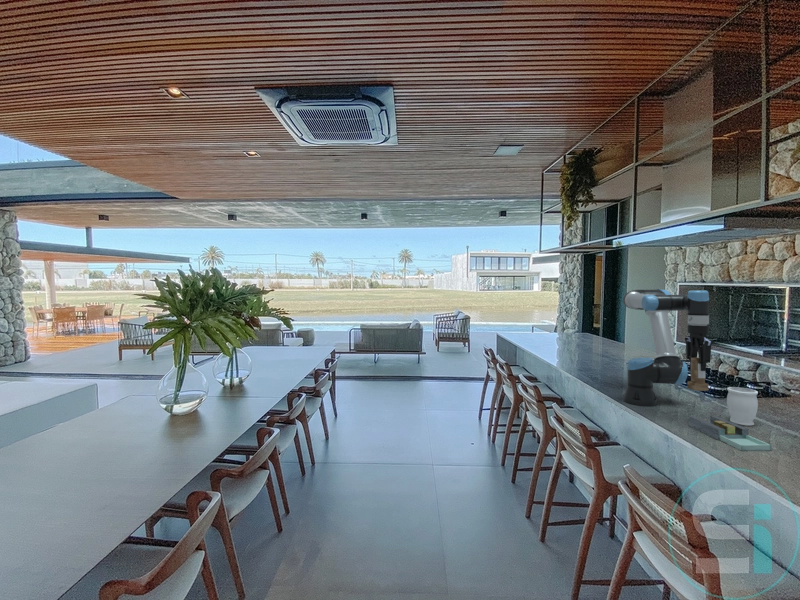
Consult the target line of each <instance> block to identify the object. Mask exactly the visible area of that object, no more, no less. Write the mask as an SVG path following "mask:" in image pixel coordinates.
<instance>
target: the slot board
mask: <svg viewBox="0 0 800 600" xmlns="http://www.w3.org/2000/svg"><path fill="white" fill-rule="evenodd" d="M714 421H723V422H725V423H727V424H730V425H732V426H735V434H726V433H725V429H723V428H720V427H718V426H716V425H714ZM688 426H689V427H690V426H691V427H690V428H693V429H694V430H696V431H699V432H701V433H703V434H705V435H707V436H709V437H711V438H713V439H716V440H717V441H720V440H719V435H722V436H724V437H726V438H728V439H746V435H749V433H750V432H749V431H750V430H749V428H747V427H745V426H743V425H740V424H736V423H733V422H731V421H730V420H727V419H725V418H723V417H720V416H717V415H710V417H709V420H704V419H702V418H700V417H697V416H695V415H689V416H688Z"/></svg>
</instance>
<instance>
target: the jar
mask: <svg viewBox="0 0 800 600" xmlns="http://www.w3.org/2000/svg"><path fill="white" fill-rule="evenodd" d="M726 388H727V389H726V391H728V393H727V396H726V405H727V412H728V414H729V416H730V418H729V421H730V422H732V423H735V424H737V425H740V426H748V427H749V426H755V423H754V420H755V419H756V416H757V412H758V408H759V401H758V398H757V395H758V394H759V391H757V390H755V389H751V388H746V387H739V386H738V387H737V386H730V387H726Z"/></svg>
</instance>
